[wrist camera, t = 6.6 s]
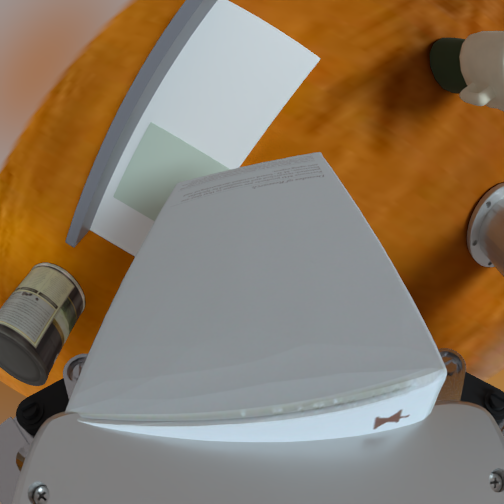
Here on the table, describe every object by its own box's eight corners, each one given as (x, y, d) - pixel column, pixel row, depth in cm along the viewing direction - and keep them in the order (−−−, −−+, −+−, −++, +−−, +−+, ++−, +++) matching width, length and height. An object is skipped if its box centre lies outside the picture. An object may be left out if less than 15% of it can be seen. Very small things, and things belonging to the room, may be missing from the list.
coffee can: (98, 308, 43) (60, 384, 31) (57, 322, 45) (20, 387, 33) (57, 252, 38) (2, 322, 26) (19, 272, 40) (-29, 334, 28)
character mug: (433, 116, 28) (510, 149, 17) (397, 60, 25) (472, 64, 14) (492, 71, 24) (573, 89, 13) (462, 17, 21) (543, 12, 10)
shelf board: (317, 59, 26) (321, 58, 24) (171, 265, 38) (167, 275, 36) (210, -5, 23) (207, -11, 21) (87, 216, 35) (79, 224, 33)
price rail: (220, -4, 21) (214, -15, 18) (89, 229, 34) (74, 247, 30) (207, -10, 21) (199, -22, 17) (80, 223, 33) (63, 241, 30)
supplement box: (173, 180, 15) (45, 412, 5) (323, 148, 15) (468, 370, 4) (213, 295, 19) (184, 511, 8) (337, 274, 18) (398, 491, 8)
